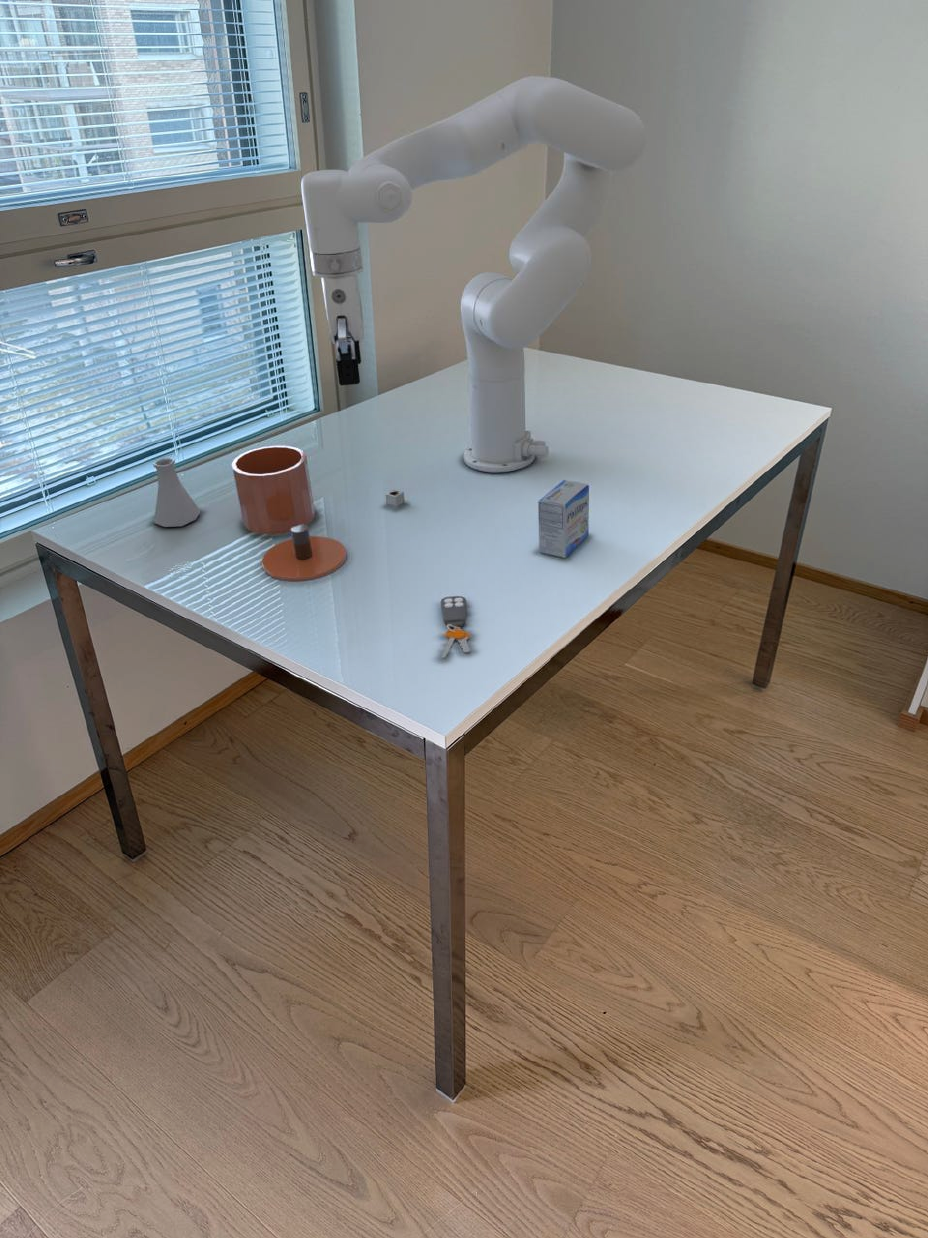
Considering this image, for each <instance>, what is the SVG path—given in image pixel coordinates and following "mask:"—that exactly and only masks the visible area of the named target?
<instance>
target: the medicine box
mask: <svg viewBox="0 0 928 1238" xmlns="http://www.w3.org/2000/svg"><path fill="white" fill-rule="evenodd" d="M537 511H538V517H537V518H538V519H537V520H538V551H539V553H541V554H546V555H550V556H554V557H558V558H563V559H566V558H567V557H568V556H569V555H570V554H572V552H573V551H574V550H575V549H577V547H578V546H579V545H580V544H582V542H583V541H584V540H585V539H586V538H587V537H589V529H590V528H589V527H590V525H589V524H590V523H589V522H590V519H589V518H590V485H589V484H587V483H585V482H584V483H583V482H580V481H574V480H569V479H563V480H562V481H560V482H559V483H558V484H557V485H556V486H554V488H552V489H551V490H550V491H549V492H547V493H546V494H545V495H544V496H542V497H541V498H540V499H539V500H538V502H537Z"/></svg>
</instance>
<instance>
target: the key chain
mask: <svg viewBox="0 0 928 1238" xmlns="http://www.w3.org/2000/svg"><path fill="white" fill-rule="evenodd" d="M440 607H441V613H442V619H443V623H444V625H445V626H446V629H447V630H446V632H445V637H446V638H448V642H447V644H445V645H446V646H445V647H444V650H443V652H442V655H441V659H446V657H447V655H448V654H449V652H450V650H451V647H453V644H454V641H457V643H459V647H461V650H462V651H461V652H463V653H470V652H471V649H470V646H469V644H468V642H467V640H469V639H470V636H471V635H470V633H469V632H466V631H463V630H462V628H461V626H464V624H466V622H467V599H466V597H464V596H461V595H454V596H453V595H452V596H445V597H443V598H441V600H440ZM451 627H452V629H451Z"/></svg>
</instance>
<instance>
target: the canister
mask: <svg viewBox="0 0 928 1238" xmlns="http://www.w3.org/2000/svg"><path fill="white" fill-rule="evenodd" d="M230 465H231V471H232V476H233V480H234V485H235V490H236V495H237V499H238V504H239V509H240V515H241V521H242V523H243V527H244V528H245V529H247V530H248V531H249V532H252V533H255V534H258V535H281V534H282V535H283V534H287V533H291V528H292V527H293V526H295V525H299V524H304V525H307V526H308V525H309V524H310V523H311V522H312V521H313V520H314V518H315V515H316V509H315V504H314V503H315V502H314V496H313V490H312V484H311V478H310V477H311V476H310V471H309V464H308V458H307V455H306V453H305V451H303V450H302V449H300V448H298V447H295V446H290V445H269V446H267V445H266V446H262V447H257V448H254V449H250V450H248V451H244V452H242V453H241V454H239V455H238V456H236V457H234V459H233V460H232V462H231V464H230Z"/></svg>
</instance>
